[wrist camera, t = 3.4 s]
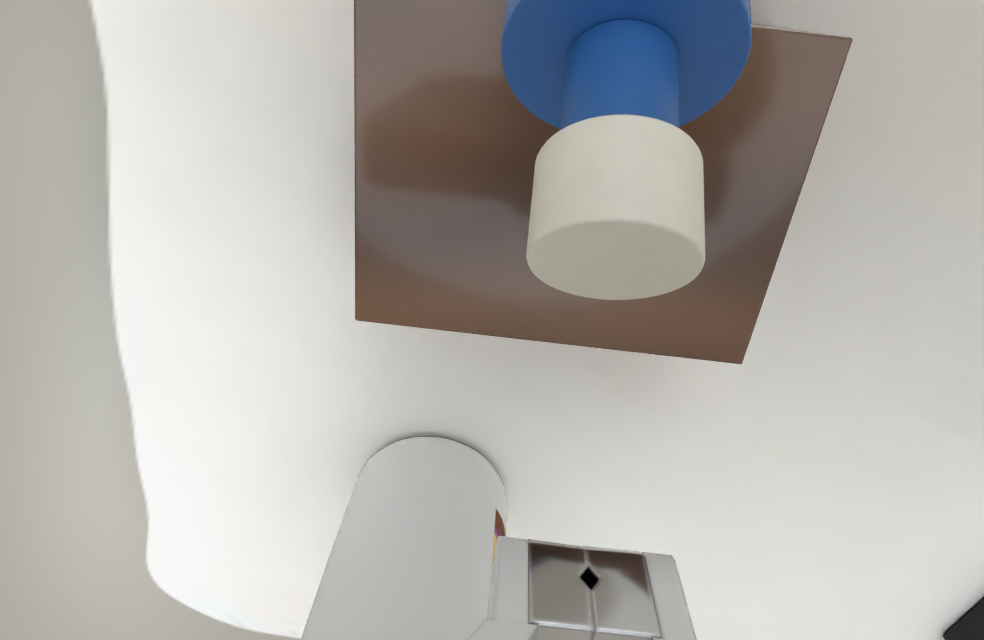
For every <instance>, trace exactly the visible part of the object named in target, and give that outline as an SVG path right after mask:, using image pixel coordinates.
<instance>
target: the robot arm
mask: <svg viewBox="0 0 984 640" xmlns="http://www.w3.org/2000/svg"><path fill="white" fill-rule="evenodd" d="M468 640H697V639H696V635H695V632H694V628H693V624H692V621H691V617H690V613H689V610H688V606H687V602H686V599H685V595H684V591H683V588H682V584H681V580H680V576H679V573H678V569H677V565H676V562H675V560H674V558H673V557H672V556H671V555H665V554H655V553H645V552H642V553H640V552H637V551H627V550H617V549H607V548H597V547H587V546H583V547H581V546H574V545H567V544H559V543H552V542H545V541H537V540H530V539H528V540H526V539H519V538H511V537H504V536H498V538H497V541H496V548H495V554H494V561H493V568H492V575H491V582H490V590H489V599H488V607H487V619H484V620H483V621H482V622H481V624H480V625H479V626H478V627H477V629H476V630H475V631H474V632H473V634H472V635H471V636H470V637H469V638H468Z"/></svg>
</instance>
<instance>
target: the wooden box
mask: <svg viewBox="0 0 984 640" xmlns="http://www.w3.org/2000/svg"><path fill="white" fill-rule="evenodd" d="M506 3H507V0H354V105H355V319H356V320H358V321H367V322H375V323H384V324H393V325H402V326H410V327H419V328H428V329H437V330H446V331H454V332H463V333H472V334H481V335H489V336H498V337H507V338H516V339H525V340H533V341H542V342H551V343H560V344H568V345H577V346H586V347H595V348H604V349H612V350H621V351H630V352H639V353H648V354H656V355H665V356H674V357H683V358H691V359H700V360H709V361H718V362H727V363H735V364H742V362H743V359H744V356H745V353H746V350H747V347H748V344H749V341H750V338H751V335H752V332H753V329H754V326H755V324H756V321H757V318H758V315H759V312H760V309H761V306H762V303H763V300H764V297H765V294H766V291H767V288H768V286H769V283H770V280H771V277H772V274H773V271H774V268H775V265H776V262H777V259H778V256H779V253H780V250H781V247H782V245H783V242H784V239H785V236H786V233H787V230H788V227H789V224H790V221H791V218H792V215H793V212H794V209H795V206H796V204H797V201H798V198H799V195H800V192H801V189H802V186H803V183H804V180H805V177H806V174H807V171H808V168H809V165H810V163H811V160H812V157H813V154H814V151H815V148H816V145H817V142H818V139H819V136H820V133H821V130H822V127H823V125H824V122H825V119H826V116H827V113H828V110H829V107H830V104H831V101H832V98H833V95H834V92H835V89H836V86H837V84H838V81H839V78H840V75H841V72H842V69H843V66H844V63H845V60H846V57H847V54H848V51H849V48H850V45H851V43H852V38H849V37H842V36H835V35H828V34H821V33H814V32H807V31H800V30H793V29H786V28H779V27H772V26H763V25H755V24H751V30H752V40H751V49H750V53H749V56H748V60H747V63H746V65H745V67H744V69H743V71H742V73H741V75H740V77H739V78H738V80H737V81H736V83H735V84H734V86H733V87H732V88H731V90H730V91H729V92H728V93H727V94H726V95H725V97H724V98H722V99H721V100H720V101H719V102H718V103H717V104H716V105H715V106H714V107H712V108H711V109H709V110H708V111H707V112H705V113H704V114H702V115H701V116H699V117H697V118H696V119H694V120H692V121H690V122H688V123H686V124H684V125H682V126H680V127H679V129H681V130H682V131H684V132H685V133H686V134H688V135H689V136H690V137H691V138H692V139H693V140H694V142H695V143H696V145H697V146H698V147H699V149H700V152H701V154H702V158H703V174H704V218H705V263H704V266H703V268H702V270H701V272H700V273H699V275H698V276H697V277H696V278H695V279H694V280H692V281H691V282H690V283H688V284H686V285H685V286H683V287H681V288H679V289H676V290H674V291H671V292H668V293H665V294H662V295H658V296H653V297H648V298H641V299H630V300H605V299H595V298H587V297H582V296H577V295H573V294H570V293H566V292H563V291H560V290H558V289H556V288H553V287H551V286H549V285H548V284H546V283H544V282H543V281H541V280H540V279H539V278H537V277H536V276H535V275H534V274H533V272H532V271H531V270H530V268H529V266H528V263H527V259H526V253H527V242H528V232H529V222H530V211H531V201H532V190H533V180H534V169H535V161H536V158H537V155H538V153H539V151H540V149H541V148H542V147H543V145H544V144H545V143H546V141H547V140H549V139H550V138H551V137H552V136H553V135H554V134H556V133H557V132H559V130H560V129H558V128H556V127H554V126H552V125H550V124H548V123H546V122H544V121H543V120H541V119H539V118H538V117H536V116H535V115H534V114H533V113H531V112H530V111H529V110H528V109H527V108H526V107H525V106H524V105H523V104H522V103H521V102H520V101H519V100H518V99H517V97H516V96H515V95H514V93H513V92H512V90H511V88H510V86H509V84H508V82H507V80H506V77H505V74H504V72H503V67H502V62H501V41H502V33H503V26H504V18H505V10H506Z"/></svg>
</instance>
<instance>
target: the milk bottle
mask: <svg viewBox="0 0 984 640" xmlns="http://www.w3.org/2000/svg"><path fill="white" fill-rule="evenodd" d="M498 536H504V537H506V493H505V489H504V486H503V483H502V481H501V479H500V477H499V475H498V474H497V472H496V471H495V469H494V468H493V467H492V465H491V464H490V463H489V462H488V461H487V460H486V459H485V458H484V457H483V456H482V455H481V454H479V453H478V452H476V451H474V450H473V449H472V448H470V447H468V446H465V445H463V444H461V443H459V442H457V441H452V440H448V439H445V438H439V437H429V436H426V437H412V438H408V439H403V440H399V441H397V442H395V443H393V444H390V445H388V446H386V447H385V448H383V449H382V450H380V451H379V452H377V453H376V454H375V455H374V456H372V457H371V458H370V459H369V460H368V462H367V463H366V464H365V465H364V467H363V468H362V470H361V472H360V474H359V477H358V479H357V482H356V484H355V487H354V489H353V492H352V495H351V497H350V500H349V503H348V506H347V509H346V511H345V514H344V517H343V520H342V523H341V525H340V528H339V531H338V534H337V537H336V540H335V542H334V545H333V548H332V551H331V554H330V556H329V559H328V562H327V565H326V568H325V571H324V573H323V576H322V579H321V582H320V585H319V588H318V591H317V594H316V597H315V600H314V603H313V605H312V608H311V611H310V614H309V617H308V620H307V623H306V626H305V629H304V632H303V635H302V637H301V640H468V638H469V637H470V636H471V635H472V634H473V632H474V631H475V630H476V629H477V627H478V626H479V625H480V624H481V622H482V621H483V620H484V619H487V607H488V599H489V590H490V582H491V575H492V568H493V561H494V554H495V548H496V541H497V538H498Z"/></svg>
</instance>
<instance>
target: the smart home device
mask: <svg viewBox="0 0 984 640" xmlns="http://www.w3.org/2000/svg"><path fill="white" fill-rule="evenodd" d="M943 637H944V639H945V640H984V599H983V600H982V601H981V602H980V603H978V604H977V605H976V606H975V607H974V608H973V609H972V610H971V611H970V612H968V613H967V614H966V615H965V616H964V617H963V618H962V619H961V620H960V621H959V622H957V623H956V624H955V625H954V626H953V627H952V628H951V629H950V630H949V631H947V632H946V633H945V634H944V635H943Z"/></svg>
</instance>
